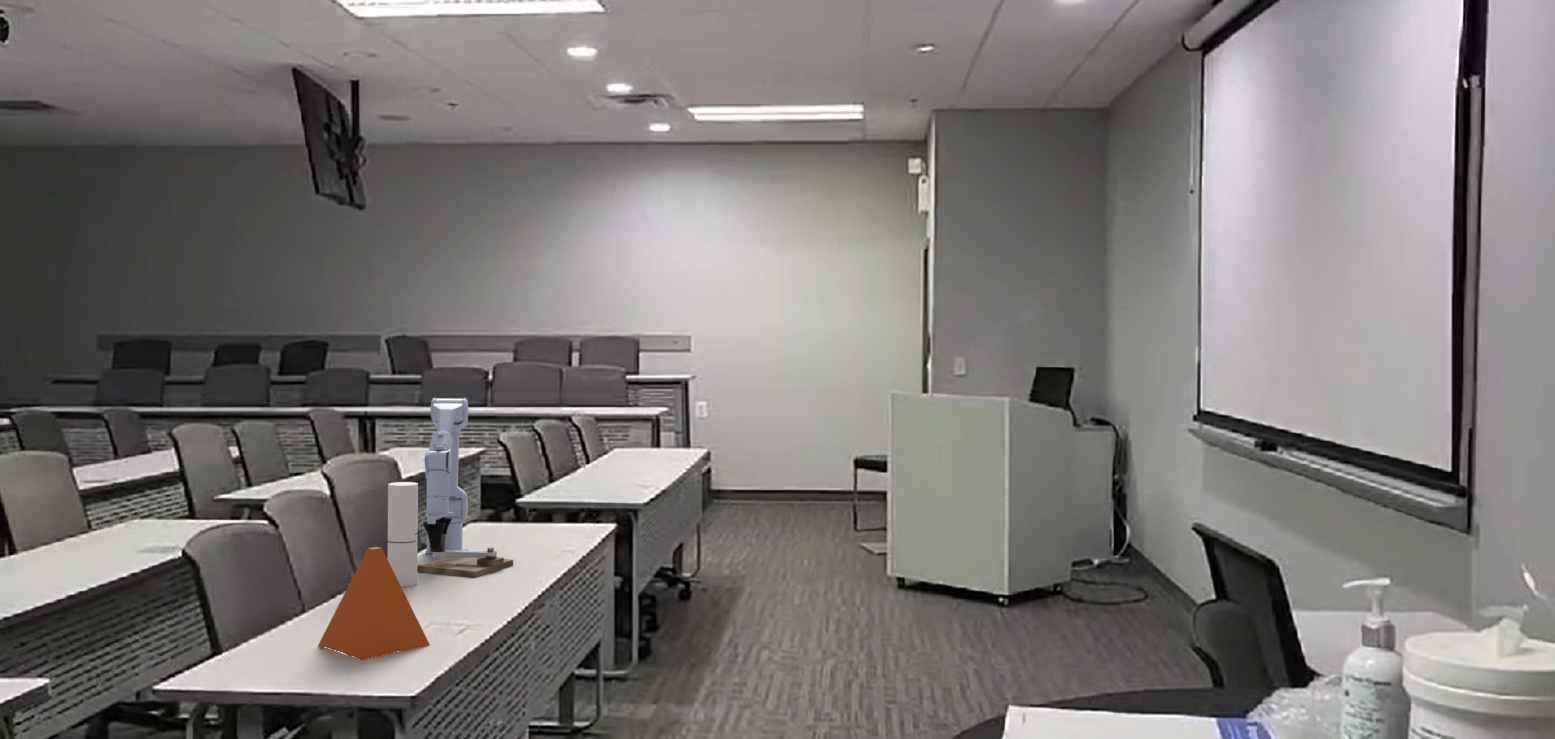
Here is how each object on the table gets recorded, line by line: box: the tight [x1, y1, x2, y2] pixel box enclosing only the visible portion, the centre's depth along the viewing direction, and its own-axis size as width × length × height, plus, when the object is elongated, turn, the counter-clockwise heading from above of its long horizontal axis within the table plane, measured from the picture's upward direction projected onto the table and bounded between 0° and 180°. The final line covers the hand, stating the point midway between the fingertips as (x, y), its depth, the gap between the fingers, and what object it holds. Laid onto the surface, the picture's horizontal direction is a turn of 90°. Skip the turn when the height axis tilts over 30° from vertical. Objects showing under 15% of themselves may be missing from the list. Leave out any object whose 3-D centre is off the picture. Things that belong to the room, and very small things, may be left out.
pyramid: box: [317, 546, 431, 661], centre depth 252 cm, size 16×16×20 cm
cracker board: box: [417, 556, 514, 578], centre depth 332 cm, size 18×18×3 cm
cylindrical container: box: [387, 481, 419, 587], centre depth 311 cm, size 7×7×25 cm
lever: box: [430, 533, 498, 558], centre depth 330 cm, size 18×4×6 cm, turn 91°
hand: (437, 546), depth 330 cm, fingers open, 4 cm apart
